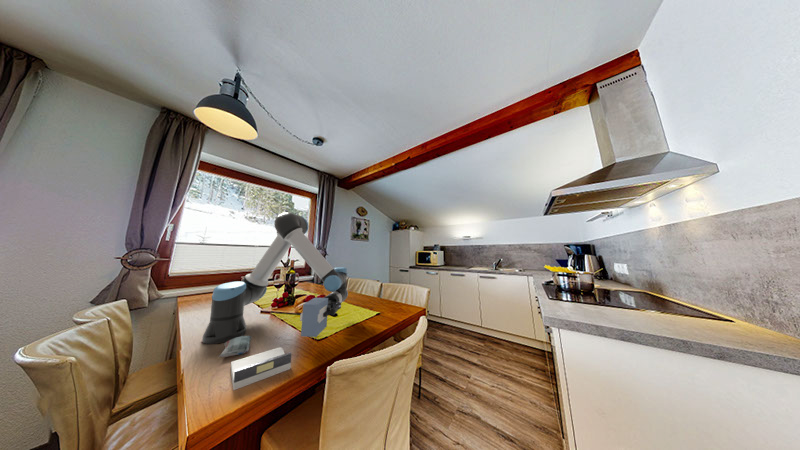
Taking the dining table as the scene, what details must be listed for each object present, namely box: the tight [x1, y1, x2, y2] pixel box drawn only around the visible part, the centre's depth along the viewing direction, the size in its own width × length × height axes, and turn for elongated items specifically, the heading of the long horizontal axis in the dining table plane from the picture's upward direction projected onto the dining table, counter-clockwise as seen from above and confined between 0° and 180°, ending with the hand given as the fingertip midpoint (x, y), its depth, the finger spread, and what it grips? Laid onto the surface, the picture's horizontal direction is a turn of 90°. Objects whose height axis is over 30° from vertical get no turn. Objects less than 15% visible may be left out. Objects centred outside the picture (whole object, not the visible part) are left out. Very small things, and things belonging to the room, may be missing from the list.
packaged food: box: [218, 335, 252, 358], centre depth 78 cm, size 9×12×5 cm
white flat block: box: [230, 346, 292, 391], centre depth 67 cm, size 14×15×5 cm
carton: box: [300, 297, 328, 338], centre depth 82 cm, size 6×10×12 cm, turn 178°
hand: (309, 317), depth 77 cm, fingers closed on carton, 6 cm apart
